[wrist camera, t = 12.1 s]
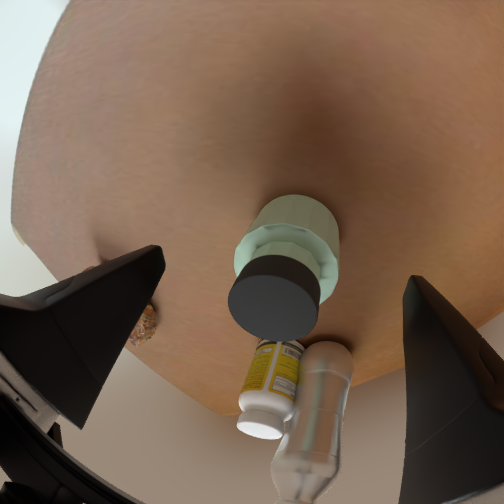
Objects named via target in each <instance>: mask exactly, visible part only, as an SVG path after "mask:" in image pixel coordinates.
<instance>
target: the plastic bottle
mask: <svg viewBox="0 0 504 504" xmlns="http://www.w3.org/2000/svg"><path fill="white" fill-rule="evenodd" d="M353 372H354V364H353V358H352V355H351V353H350V352H349V351H348V350H347V348H345V347H344V346H343V345H341V344H339V343H337V342H332V341H321V342H317V343H314V344H312V345H310V346H309V347H308V348H307V349H305V350H304V351H303V353H302V355H301V357H300V359H299V364H298V377H297V378H298V382H297V388H296V394H295V401H294V406H293V410H292V413H291V418H290V420H289V423H288V426H287V429H286V432H285V434H284V437H283V439H282V441H281V443H280V445H279V448H278V450H277V452H276V454H275V456H274V458H273V461H272V463H271V476H272V479H273V482H274V485H275V487H276V489H277V491H278V493H279V500H278V501H274V504H316V502H317V500H318V499H319V498H320V497H321V496H322V495H324V494H325V493H326V492H327V491H328V490H329V489H330V488H331V487H332V486H333V485H334V484H335V483H336V482H337V480H338V478H339V476H340V474H341V468H342V463H341V462H342V432H343V420H344V411H345V406H346V401H347V396H348V390H349V387H350V384H351V381H352V377H353Z"/></svg>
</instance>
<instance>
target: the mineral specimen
mask: <svg viewBox="0 0 504 504" xmlns="http://www.w3.org/2000/svg"><path fill="white" fill-rule="evenodd" d="M91 268H94V266H91V267H89V268H87V269H85V270H84V271H86V270H89V269H91ZM84 271H83V272H84ZM154 316H155V311H154V310H153V307H152V306H151V305H150V304H148V305H147V307H146V309H145V310H144V312H143V314H142V315H141V317H140V319H139V321H138V322H137V324H136V326H135V328H134V329H133V331H132V333H131V335H130V336H129V338H128V340H129V341H131V343H132V344H133V345H135V346H140V345H141V344H143V343H144V342H145V341H147V340H148V339H150V338H151V336H152V335H153V334H154V333H155V330H156V326H157V322H156V320H155V319H153V318H154Z"/></svg>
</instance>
